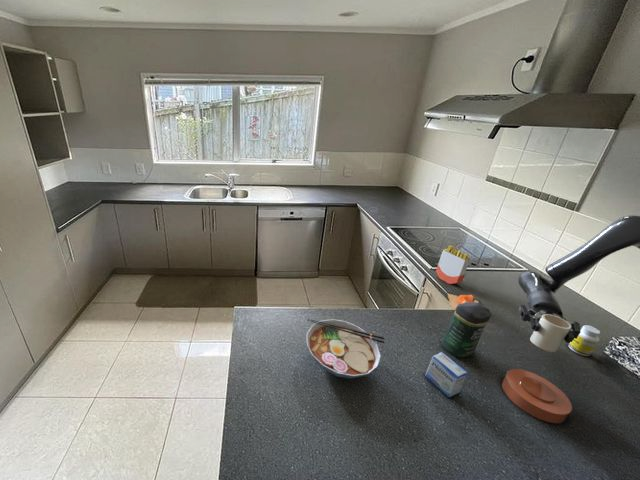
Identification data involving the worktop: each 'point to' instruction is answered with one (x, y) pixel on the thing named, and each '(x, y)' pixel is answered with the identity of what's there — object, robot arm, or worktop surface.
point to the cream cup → (550, 333)
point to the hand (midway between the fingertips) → (552, 334)
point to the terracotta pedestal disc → (536, 396)
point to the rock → (459, 300)
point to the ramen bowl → (343, 348)
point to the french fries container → (452, 265)
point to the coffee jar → (466, 328)
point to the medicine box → (446, 374)
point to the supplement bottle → (585, 341)
